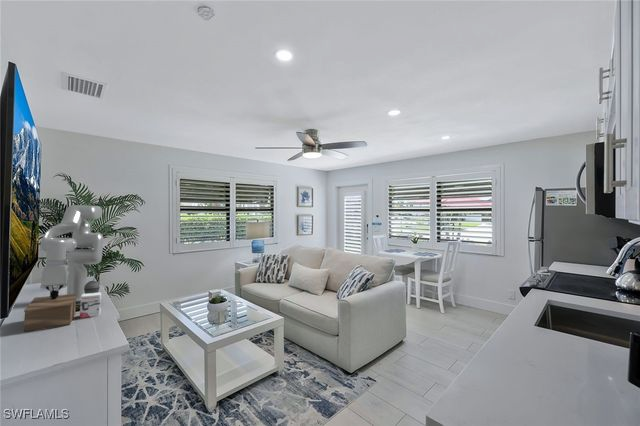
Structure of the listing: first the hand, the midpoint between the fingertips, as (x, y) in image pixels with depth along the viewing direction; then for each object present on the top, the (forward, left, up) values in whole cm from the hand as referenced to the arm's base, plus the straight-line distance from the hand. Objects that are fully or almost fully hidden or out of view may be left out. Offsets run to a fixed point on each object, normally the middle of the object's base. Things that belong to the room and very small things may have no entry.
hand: (54, 298), depth 144 cm
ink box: (+2, +15, -11) cm, 19 cm away
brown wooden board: (+4, 0, -1) cm, 4 cm away
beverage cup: (-14, +14, -11) cm, 23 cm away
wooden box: (+4, 0, -11) cm, 12 cm away
